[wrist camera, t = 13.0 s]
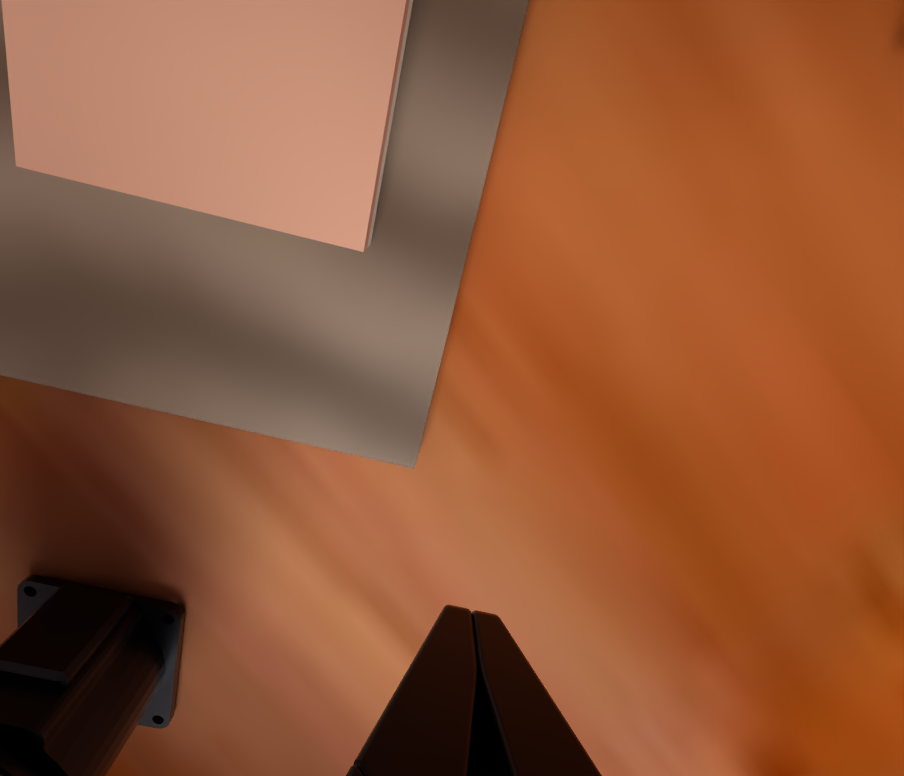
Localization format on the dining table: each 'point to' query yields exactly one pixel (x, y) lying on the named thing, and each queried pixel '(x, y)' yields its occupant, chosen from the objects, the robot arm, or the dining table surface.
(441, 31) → the board
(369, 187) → the tile
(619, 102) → the dining table surface
